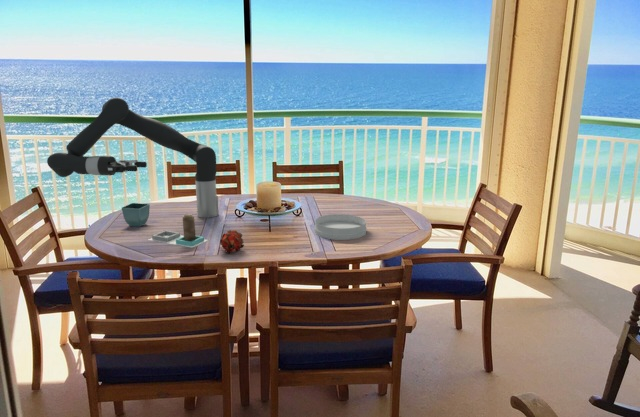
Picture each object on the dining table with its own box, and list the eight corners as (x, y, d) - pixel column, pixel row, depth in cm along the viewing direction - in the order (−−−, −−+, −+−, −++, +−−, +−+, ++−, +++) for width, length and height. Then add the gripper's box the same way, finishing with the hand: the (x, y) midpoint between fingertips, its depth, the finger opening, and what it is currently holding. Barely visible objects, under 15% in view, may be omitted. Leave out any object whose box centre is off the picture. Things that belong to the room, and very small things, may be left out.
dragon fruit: (235, 248, 192) (233, 264, 181) (217, 237, 190) (214, 252, 179) (247, 232, 190) (246, 247, 179) (229, 221, 187) (226, 235, 176)
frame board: (148, 242, 194) (147, 236, 194) (165, 235, 203) (165, 229, 202) (192, 250, 185) (191, 243, 185) (208, 242, 194) (208, 236, 193)
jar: (193, 239, 194) (192, 212, 191) (197, 242, 191) (195, 215, 188) (182, 241, 192) (181, 214, 189) (186, 244, 188) (184, 217, 186)
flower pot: (141, 228, 212) (139, 208, 210) (122, 227, 214) (120, 207, 211) (151, 223, 220) (150, 203, 218) (134, 221, 222) (132, 202, 220)
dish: (371, 227, 216) (372, 217, 215) (358, 242, 196) (358, 231, 195) (324, 222, 223) (324, 212, 222) (306, 236, 203) (306, 225, 202)
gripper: (90, 159, 183) (132, 159, 182) (109, 153, 197) (148, 154, 196) (93, 178, 185) (134, 179, 184) (111, 171, 199) (149, 172, 198)
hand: (141, 166), depth 190 cm, fingers open, 8 cm apart
